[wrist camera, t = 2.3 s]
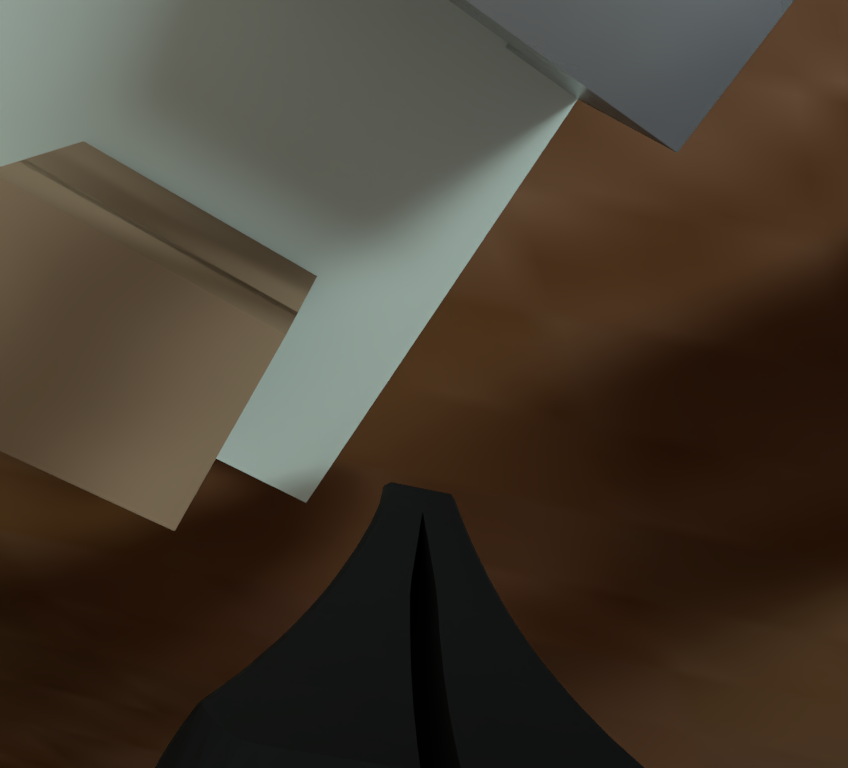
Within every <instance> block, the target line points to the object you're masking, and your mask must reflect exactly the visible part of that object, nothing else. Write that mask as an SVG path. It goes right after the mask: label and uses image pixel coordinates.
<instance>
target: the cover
mask: <svg viewBox="0 0 848 768" xmlns="http://www.w3.org/2000/svg"><path fill="white" fill-rule="evenodd" d="M316 278H317V276H316V275H314V274H312V273H311V272H309V271H307V270H306V269H304V268H302V267H300V266H299V265H297V264H295V263H293V262H292V261H290V260H288V259H287V258H285V257H283V256H281V255H280V254H278V253H276V252H274V251H273V250H271V249H269V248H268V247H266V246H264V245H262V244H261V243H259V242H257V241H255V240H254V239H252V238H250V237H248V236H247V235H245V234H243V233H242V232H240V231H238V230H236V229H235V228H233V227H231V226H229V225H228V224H226V223H224V222H223V221H221V220H219V219H217V218H216V217H214V216H212V215H210V214H209V213H207V212H205V211H204V210H202V209H200V208H198V207H197V206H195V205H193V204H191V203H190V202H188V201H186V200H184V199H183V198H181V197H179V196H178V195H176V194H174V193H172V192H171V191H169V190H167V189H165V188H164V187H162V186H160V185H159V184H157V183H155V182H153V181H152V180H150V179H148V178H146V177H145V176H143V175H141V174H140V173H138V172H136V171H134V170H133V169H131V168H129V167H127V166H126V165H124V164H122V163H120V162H119V161H117V160H115V159H114V158H112V157H110V156H108V155H107V154H105V153H103V152H101V151H100V150H98V149H96V148H95V147H93V146H91V145H89V144H88V143H86V142H84V141H83V142H79V143H76V144H73V145H70V146H66V147H63V148H60V149H57V150H53V151H50V152H47V153H44V154H40V155H37V156H34V157H30V158H27V159H24V160H21V161H17V162H14V163H11V164H8V165H4V166H1V167H0V451H1V452H3V453H5V454H8V455H10V456H12V457H14V458H16V459H18V460H21V461H23V462H25V463H27V464H29V465H31V466H34V467H36V468H38V469H40V470H42V471H45V472H47V473H49V474H51V475H53V476H55V477H58V478H60V479H62V480H64V481H66V482H68V483H71V484H73V485H75V486H77V487H79V488H82V489H84V490H86V491H88V492H90V493H92V494H95V495H97V496H99V497H101V498H103V499H105V500H108V501H110V502H112V503H114V504H116V505H119V506H121V507H123V508H125V509H127V510H129V511H132V512H134V513H136V514H138V515H140V516H142V517H145V518H147V519H149V520H151V521H153V522H155V523H158V524H160V525H162V526H164V527H166V528H169V529H171V530H173V531H175V530H176V528H177V526H178V524H179V523H180V521H181V519H182V517H183V516H184V514H185V512H186V510H187V509H188V507H189V505H190V503H191V502H192V500H193V498H194V496H195V494H196V493H197V491H198V489H199V487H200V486H201V484H202V482H203V480H204V479H205V477H206V475H207V473H208V472H209V470H210V468H211V466H212V465H213V463H214V461H215V459H216V457H217V456H218V454H219V452H220V450H221V449H222V447H223V445H224V443H225V442H226V440H227V438H228V436H229V435H230V433H231V431H232V429H233V428H234V426H235V424H236V422H237V420H238V419H239V417H240V415H241V413H242V412H243V410H244V408H245V406H246V405H247V403H248V401H249V399H250V398H251V396H252V394H253V392H254V391H255V389H256V387H257V385H258V383H259V382H260V380H261V378H262V376H263V375H264V373H265V371H266V369H267V368H268V366H269V364H270V362H271V361H272V359H273V357H274V355H275V353H276V352H277V350H278V348H279V346H280V345H281V343H282V341H283V339H284V338H285V336H286V334H287V332H288V330H289V328H290V327H291V325H292V323H293V321H294V319H295V317H296V315H297V313H298V311H299V310H300V308H301V306H302V304H303V302H304V300H305V298H306V296H307V295H308V293H309V291H310V289H311V287H312V285H313V283H314V281H315V279H316Z"/></svg>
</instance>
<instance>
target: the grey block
mask: <svg viewBox="0 0 848 768" xmlns="http://www.w3.org/2000/svg"><path fill="white" fill-rule="evenodd" d="M449 1H450V2H452V3H453V4H454V5H456V6H457V7H459V8H460V9H461V10H463V11H464V12H466V13H467V14H468V15H470V16H471V17H473V18H474V19H475V20H477V21H478V22H480V23H481V24H482V25H484V26H485V27H487V28H488V29H489V30H491V31H492V32H494V33H495V34H496V35H498V36H499V37H501V38H502V39H503V40H505V41H506V42H508V45H507V47H506V48H507V49H508V50H510V51H511V52H512V53H514V54H515V55H517V56H518V57H520V58H521V59H522V60H524V61H525V62H527V63H528V64H529V65H531V66H532V67H534V68H535V69H536V70H538V71H539V72H541V73H542V74H543V75H545V76H546V77H548V78H549V79H550V80H552V81H553V82H555V83H556V84H557V85H559V86H560V87H562V88H563V89H564V90H566V91H567V92H569V93H570V94H571V95H573V96H574V97H576V98H577V99H579V100H581V101H582V102H584V103H586V104H588V105H590V106H592V107H593V108H595V109H597V110H599V111H601V112H603V113H605V114H606V115H608V116H610V117H612V118H614V119H616V120H617V121H619V122H621V123H623V124H625V125H627V126H629V127H630V128H632V129H634V130H636V131H638V132H640V133H642V134H643V135H645V136H647V137H649V138H651V139H653V140H654V141H656V142H658V143H660V144H662V145H664V146H666V147H667V148H669V149H671V150H673V151H675V152H678V151H679V150H680V148H681V147H682V146H683V144H684V143H685V142H686V140H687V139H688V138H689V137H690V135H691V134H692V133H693V131H694V130H695V129H696V127H697V126H698V125H699V124H700V122H701V121H702V120H703V118H704V117H705V116H706V114H707V113H708V112H709V110H710V109H711V108H712V107H713V105H714V104H715V103H716V101H717V100H718V99H719V97H720V96H721V95H722V93H723V92H724V91H725V90H726V88H727V87H728V86H729V84H730V83H731V82H732V80H733V79H734V78H735V77H736V75H737V74H738V73H739V71H740V70H741V69H742V67H743V66H744V65H745V63H746V62H747V61H748V60H749V58H750V57H751V56H752V54H753V53H754V52H755V50H756V49H757V48H758V46H759V45H760V44H761V43H762V41H763V40H764V39H765V37H766V36H767V35H768V33H769V32H770V31H771V30H772V28H773V27H774V26H775V24H776V23H777V22H778V20H779V19H780V18H781V16H782V15H783V14H784V13H785V11H786V10H787V9H788V7H789V6H790V5H791V3H792V2H793V1H794V0H449Z"/></svg>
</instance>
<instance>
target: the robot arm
mask: <svg viewBox="0 0 848 768" xmlns="http://www.w3.org/2000/svg"><path fill="white" fill-rule="evenodd" d="M155 768H644V767H643V766H642V765H640V764H639V763H638V762H637V761H636V760H635V759H634V758H633V757H632V756H630V755H629V754H628V753H627V752H626V751H625V750H624V749H623V748H622V747H620V746H619V745H618V744H617V743H616V742H615V741H614V740H613V739H612V738H611V737H610V736H609V735H608V734H606V733H605V732H604V730H603V729H602V728H601V727H600V726H599V725H598V724H597V723H596V722H595V721H594V720H593V719H592V718H591V717H590V716H589V715H588V714H587V713H586V712H585V711H584V710H583V709H582V708H581V707H580V706H579V705H578V703H577V702H576V701H575V700H574V699H573V698H572V697H571V696H570V695H569V693H568V692H567V691H566V690H565V689H564V687H563V686H562V685H561V684H560V683H559V682H558V680H557V679H556V678H555V677H554V676H553V674H552V673H551V672H550V671H549V670H548V668H547V667H546V666H545V665H544V664H543V662H542V661H541V660H540V658H539V657H538V656H537V654H536V653H535V652H534V650H533V649H532V648H531V646H530V645H529V643H528V642H527V640H526V639H525V637H524V636H523V635H522V633H521V632H520V630H519V629H518V627H517V626H516V624H515V622H514V621H513V619H512V618H511V616H510V614H509V613H508V611H507V610H506V608H505V606H504V604H503V603H502V601H501V599H500V597H499V596H498V594H497V592H496V590H495V589H494V587H493V585H492V583H491V581H490V579H489V577H488V575H487V573H486V571H485V569H484V567H483V565H482V563H481V561H480V559H479V557H478V555H477V553H476V551H475V549H474V547H473V544H472V542H471V540H470V538H469V535H468V533H467V531H466V528H465V526H464V523H463V521H462V518H461V516H460V513H459V510H458V508H457V505H456V502H455V500H454V498H453V497H452V495H451V494H446V493H441V492H437V491H432V490H427V489H422V488H417V487H412V486H407V485H402V484H397V483H392V482H391V483H389V484H387V485H385V486H384V488H383V492H382V496H381V500H380V504H379V507H378V509H377V511H376V513H375V515H374V517H373V520H372V522H371V524H370V525H369V527H368V529H367V530H366V532H365V534H364V536H363V537H362V539H361V541H360V543H359V544H358V546H357V547H356V549H355V550H354V552H353V553H352V555H351V556H350V558H349V559H348V560H347V562H346V563H345V565H344V566H343V568H342V569H341V570H340V572H339V573H338V575H337V576H336V577H335V579H334V580H333V581H332V582H331V584H330V585H329V586H328V587H327V589H326V590H325V591H324V592H323V593H322V595H321V596H320V597H319V598H318V599H317V600H316V602H315V603H314V604H313V605H312V606H311V607H310V608H309V609H308V610H307V611H306V612H305V614H304V615H303V616H302V617H301V618H300V619H299V620H298V621H297V622H296V623H295V624H294V625H293V626H292V627H291V628H290V629H289V630H288V631H287V632H286V633H285V634H284V635H283V636H282V637H281V638H280V639H279V640H278V641H276V642H275V643H274V644H273V645H272V646H271V647H269V648H268V649H267V650H266V651H265V652H264V653H263V654H261V655H260V656H259V657H258V658H257V659H256V660H254V661H253V662H252V663H251V664H250V665H249V666H247V667H246V668H245V669H244V670H242V671H241V672H240V673H239V674H237V675H236V676H235V677H233V678H232V679H230V680H229V681H228V682H226V683H225V684H224V685H222V686H221V687H219V688H218V689H217V690H215V691H214V692H213V693H211V694H210V695H208V696H207V697H206V698H204V699H203V700H202V701H200V702H199V703H198V704H197V706H196V707H195V708H194V710H193V711H192V712H191V714H190V715H189V716H188V718H187V719H186V720H185V722H184V723H183V725H182V726H181V727H180V729H179V730H178V732H177V733H176V735H175V736H174V738H173V739H172V740H171V742H170V743H169V745H168V747H167V748H166V750H165V751H164V753H163V755H162V756H161V758H160V760H159V762H158V763H157V765H156V767H155Z"/></svg>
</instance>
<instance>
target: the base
mask: <svg viewBox="0 0 848 768" xmlns="http://www.w3.org/2000/svg"><path fill="white" fill-rule="evenodd" d="M507 45H508V42H506V41H505V40H503V39H502V38H501V37H499V36H498V35H496V34H495V33H494V32H492V31H491V30H489V29H488V28H487V27H485V26H484V25H482V24H481V23H480V22H478V21H477V20H475V19H474V18H473V17H471V16H470V15H468V14H467V13H466V12H464V11H463V10H461V9H460V8H459V7H457V6H456V5H454V4H453V3H452V2H450V1H449V0H0V167H1V166H4V165H8V164H11V163H14V162H17V161H21V160H24V159H27V158H30V157H34V156H37V155H40V154H44V153H47V152H50V151H53V150H57V149H60V148H63V147H66V146H70V145H73V144H76V143H79V142H83V141H84V142H86V143H88V144H89V145H91V146H93V147H95V148H96V149H98V150H100V151H101V152H103V153H105V154H107V155H108V156H110V157H112V158H114V159H115V160H117V161H119V162H120V163H122V164H124V165H126V166H127V167H129V168H131V169H133V170H134V171H136V172H138V173H140V174H141V175H143V176H145V177H146V178H148V179H150V180H152V181H153V182H155V183H157V184H159V185H160V186H162V187H164V188H165V189H167V190H169V191H171V192H172V193H174V194H176V195H178V196H179V197H181V198H183V199H184V200H186V201H188V202H190V203H191V204H193V205H195V206H197V207H198V208H200V209H202V210H204V211H205V212H207V213H209V214H210V215H212V216H214V217H216V218H217V219H219V220H221V221H223V222H224V223H226V224H228V225H229V226H231V227H233V228H235V229H236V230H238V231H240V232H242V233H243V234H245V235H247V236H248V237H250V238H252V239H254V240H255V241H257V242H259V243H261V244H262V245H264V246H266V247H268V248H269V249H271V250H273V251H274V252H276V253H278V254H280V255H281V256H283V257H285V258H287V259H288V260H290V261H292V262H293V263H295V264H297V265H299V266H300V267H302V268H304V269H306V270H307V271H309V272H311V273H312V274H314V275H316V276H317V278H316V279H315V281H314V283H313V285H312V287H311V289H310V291H309V293H308V295H307V296H306V298H305V300H304V302H303V304H302V306H301V308H300V310H299V311H298V313H297V315H296V317H295V319H294V321H293V323H292V325H291V327H290V328H289V330H288V332H287V334H286V336H285V338H284V339H283V341H282V343H281V345H280V346H279V348H278V350H277V352H276V353H275V355H274V357H273V359H272V361H271V362H270V364H269V366H268V368H267V369H266V371H265V373H264V375H263V376H262V378H261V380H260V382H259V383H258V385H257V387H256V389H255V391H254V392H253V394H252V396H251V398H250V399H249V401H248V403H247V405H246V406H245V408H244V410H243V412H242V413H241V415H240V417H239V419H238V420H237V422H236V424H235V426H234V428H233V429H232V431H231V433H230V435H229V436H228V438H227V440H226V442H225V443H224V445H223V447H222V449H221V450H220V452H219V454H218V456H217V457H216V459H218V460H220V461H222V462H224V463H226V464H228V465H230V466H232V467H234V468H236V469H238V470H240V471H242V472H244V473H247V474H249V475H251V476H253V477H255V478H257V479H259V480H261V481H263V482H265V483H267V484H269V485H271V486H273V487H275V488H277V489H279V490H281V491H283V492H285V493H287V494H289V495H291V496H293V497H295V498H297V499H299V500H301V501H303V502H305V503H306V502H307V501H308V499H309V498H310V496H311V495H312V493H313V492H314V491H315V489H316V488H317V486H318V485H319V483H320V482H321V480H322V479H323V477H324V476H325V474H326V473H327V471H328V470H329V468H330V467H331V465H332V464H333V462H334V461H335V459H336V458H337V456H338V455H339V453H340V452H341V450H342V449H343V447H344V446H345V444H346V443H347V441H348V440H349V438H350V437H351V436H352V434H353V433H354V431H355V430H356V428H357V427H358V425H359V424H360V422H361V421H362V419H363V418H364V416H365V415H366V413H367V412H368V410H369V409H370V407H371V406H372V404H373V403H374V401H375V400H376V398H377V397H378V395H379V394H380V392H381V391H382V389H383V388H384V386H385V385H386V383H387V382H388V380H389V379H390V378H391V376H392V375H393V373H394V372H395V370H396V369H397V367H398V366H399V364H400V363H401V361H402V360H403V358H404V357H405V355H406V354H407V352H408V351H409V349H410V348H411V346H412V345H413V343H414V342H415V340H416V339H417V337H418V336H419V334H420V333H421V331H422V330H423V328H424V327H425V325H426V324H427V323H428V321H429V320H430V318H431V317H432V315H433V314H434V312H435V311H436V309H437V308H438V306H439V305H440V303H441V302H442V300H443V299H444V297H445V296H446V294H447V293H448V291H449V290H450V288H451V287H452V285H453V284H454V282H455V281H456V279H457V278H458V276H459V275H460V273H461V272H462V270H463V269H464V267H465V266H466V265H467V263H468V262H469V260H470V259H471V257H472V256H473V254H474V253H475V251H476V250H477V248H478V247H479V245H480V244H481V242H482V241H483V239H484V238H485V236H486V235H487V233H488V232H489V230H490V229H491V227H492V226H493V224H494V223H495V221H496V220H497V218H498V217H499V215H500V214H501V212H502V211H503V209H504V208H505V207H506V205H507V204H508V202H509V201H510V199H511V198H512V196H513V195H514V193H515V192H516V190H517V189H518V187H519V186H520V184H521V183H522V181H523V180H524V178H525V177H526V175H527V174H528V172H529V171H530V169H531V168H532V166H533V165H534V163H535V162H536V160H537V159H538V157H539V156H540V154H541V153H542V152H543V150H544V149H545V147H546V146H547V144H548V143H549V141H550V140H551V138H552V137H553V135H554V134H555V132H556V131H557V129H558V128H559V126H560V125H561V123H562V122H563V120H564V119H565V117H566V116H567V114H568V113H569V111H570V110H571V108H572V107H573V105H574V104H575V102H576V101H577V98H576V97H574V96H573V95H571V94H570V93H569V92H567V91H566V90H564V89H563V88H562V87H560V86H559V85H557V84H556V83H555V82H553V81H552V80H550V79H549V78H548V77H546V76H545V75H543V74H542V73H541V72H539V71H538V70H536V69H535V68H534V67H532V66H531V65H529V64H528V63H527V62H525V61H524V60H522V59H521V58H520V57H518V56H517V55H515V54H514V53H512V52H511V51H510V50H508V49H507V48H506V47H507Z"/></svg>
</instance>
